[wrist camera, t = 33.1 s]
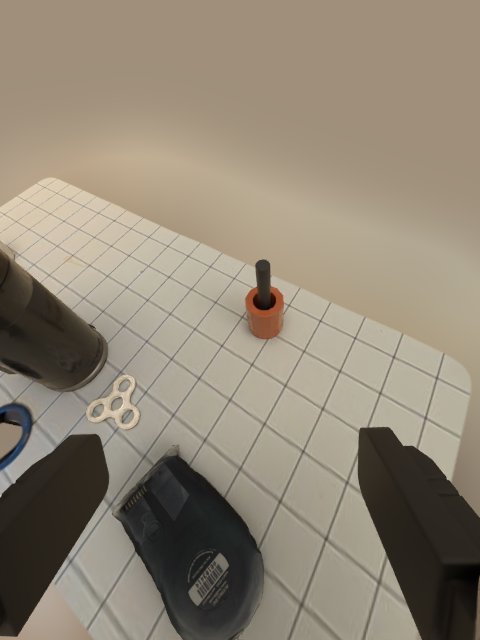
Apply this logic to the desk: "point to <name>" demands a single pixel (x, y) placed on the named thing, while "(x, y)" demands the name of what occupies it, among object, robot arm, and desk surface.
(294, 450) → the desk surface
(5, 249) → the photo printer
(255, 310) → the pen holder
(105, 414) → the fidget spinner
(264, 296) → the dark grey rod
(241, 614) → the electronic device
